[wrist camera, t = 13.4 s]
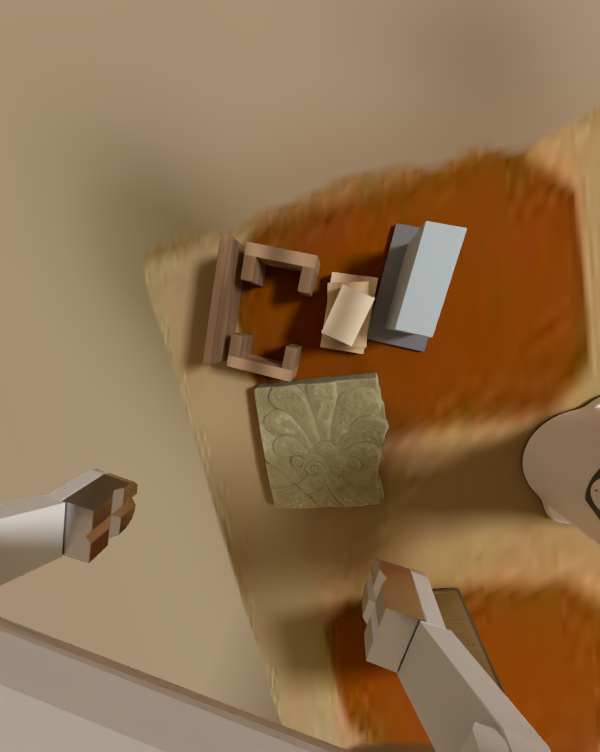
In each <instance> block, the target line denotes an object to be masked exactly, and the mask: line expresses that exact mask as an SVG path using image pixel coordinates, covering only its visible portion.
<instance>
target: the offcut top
mask: <svg viewBox="0 0 600 752" xmlns="http://www.w3.org/2000/svg"><path fill="white" fill-rule="evenodd" d="M374 299H375V298H373V297H371V296H369V295H367V294H364V293H362V292H360V291H357V290H355V289H353V288H351V287H348V286H346V285H344V284H343V285H342V287H341V289H340V292H339V294H338V296H337V298H336V301H335V303H334V305H333V307H332V309H331V312H330V314H329V316H328V318H327V321H326V323H325V325H324V327H323V329H322V332H321V333H324V334H326V335H328V336H330V337H332V338H335V339H337V340H339V341H341V342H343V343H346V344H348V345H350V346H352V345H353V343H354V341H355V339H356V337H357V334H358V332H359V330H360V328H361V326H362V324H363V322H364V320H365V318H366V316H367V314H368V312H369V310H370V308H371V305H372V303H373V301H374Z"/></svg>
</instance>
